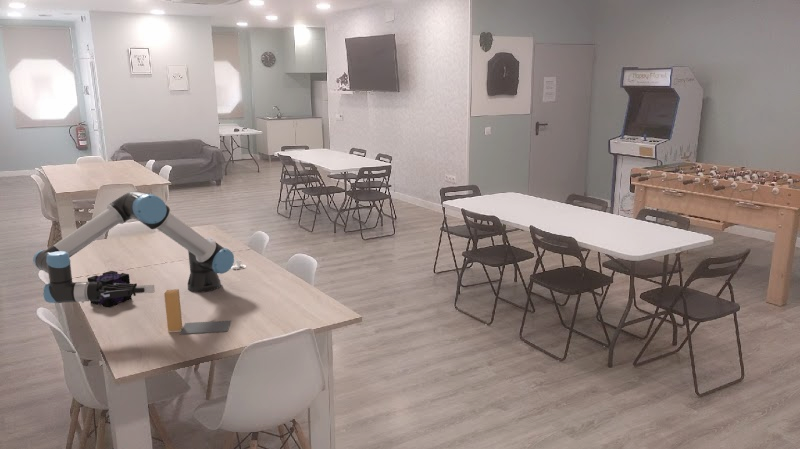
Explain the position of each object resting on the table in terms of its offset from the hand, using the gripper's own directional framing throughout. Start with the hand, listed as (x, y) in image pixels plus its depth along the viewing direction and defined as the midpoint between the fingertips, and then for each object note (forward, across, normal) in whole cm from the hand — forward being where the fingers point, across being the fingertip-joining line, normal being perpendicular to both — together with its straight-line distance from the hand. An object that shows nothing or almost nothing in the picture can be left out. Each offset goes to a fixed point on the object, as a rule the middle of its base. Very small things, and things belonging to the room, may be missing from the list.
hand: (153, 288), depth 234 cm
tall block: (+7, 0, -18) cm, 19 cm away
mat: (+18, 0, -17) cm, 25 cm away
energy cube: (-29, -39, -18) cm, 52 cm away
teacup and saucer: (+19, -83, -17) cm, 87 cm away
